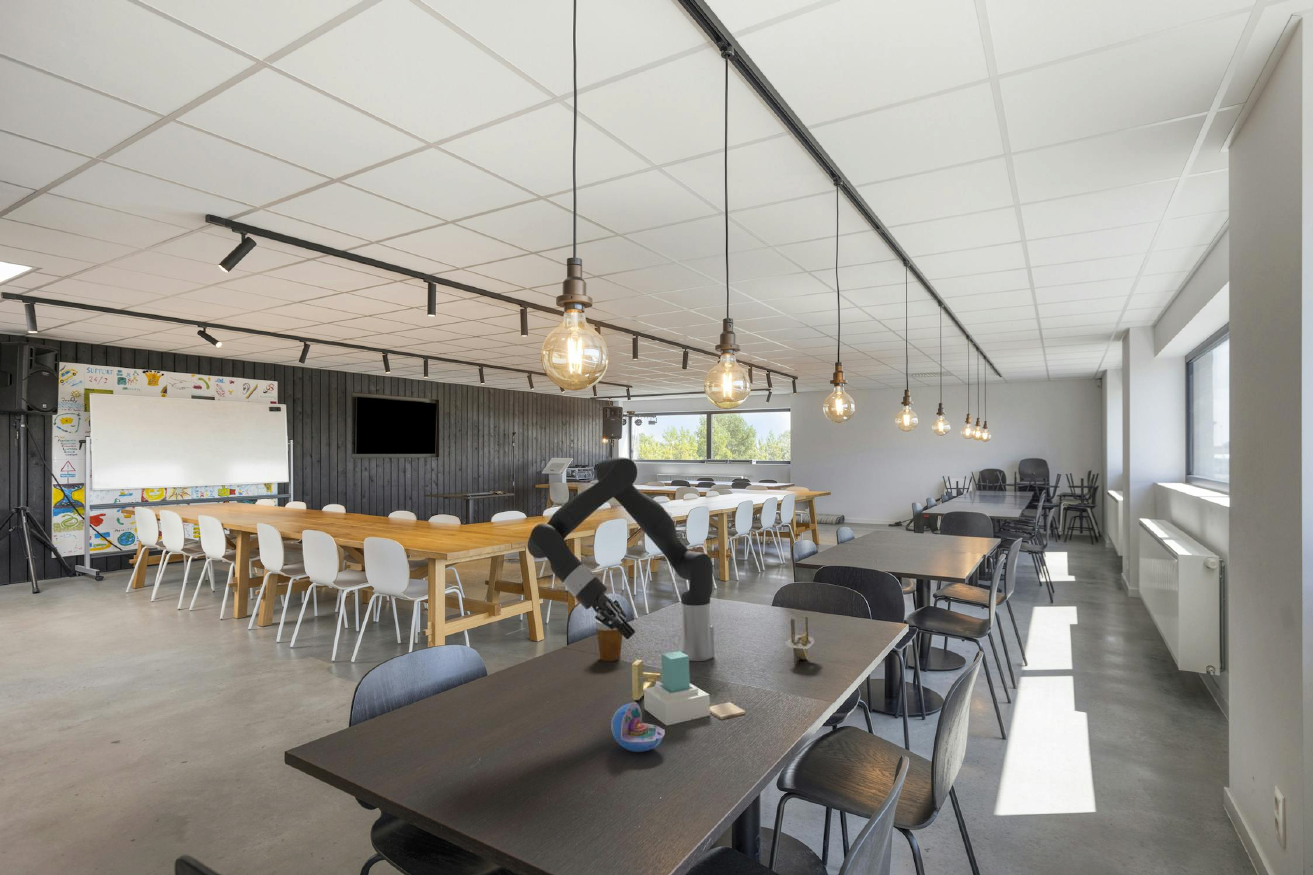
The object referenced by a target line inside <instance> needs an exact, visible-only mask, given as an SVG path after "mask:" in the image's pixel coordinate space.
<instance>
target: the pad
mask: <svg viewBox="0 0 1313 875" xmlns="http://www.w3.org/2000/svg"><path fill="white" fill-rule="evenodd" d="M710 714H712V715H713V716H715V717H717V718H718V719H719V720H725V719H728V718H733V717H734V718H735V717H737V716H738V717H739V716H742V715H745V714H746V710H744V709H742V708H741V707H738V706H737V705H735V704H733V703H732V702H730V701H728V702H724V703H719V704H715V705H711V706H710Z"/></svg>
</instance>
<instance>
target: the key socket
mask: <svg viewBox="0 0 1313 875" xmlns="http://www.w3.org/2000/svg"><path fill="white" fill-rule="evenodd" d="M646 682H647V681H643V685H644V684H645V683H646ZM657 684H662V682H661V681H657V680H656V684H655V685H657ZM655 685H652V686H651V687H655Z"/></svg>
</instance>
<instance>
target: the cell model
mask: <svg viewBox="0 0 1313 875" xmlns="http://www.w3.org/2000/svg"><path fill="white" fill-rule="evenodd" d="M642 718H643V714H642V709H641V707H640V705H639V703H637V702H635V701H633V702H629V703H626V704H624V705H622V706H621V707H619V708H618V709H617V710H616V711H615V713H614V714H613V716H612V718H611V723H610V724H611V725H610V727H611V733H612V735H613V737H614V739H615V741H616V743H618V745H619V746H621V747H622V748H624V749H625V750H627V751H630V752H635V753H642V752H643V753H644V752H647V751H650V750H652V749H654V748H655V747H657V746H658V745H660V743H661V742H662V741H663V739H664V736H665V731H666V730H665V729H663V728H661V727H660V726H658V725H655V724H652V723H651V724H650V723H646V722H643V721H642Z"/></svg>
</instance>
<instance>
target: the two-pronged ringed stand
mask: <svg viewBox="0 0 1313 875" xmlns="http://www.w3.org/2000/svg"><path fill="white" fill-rule="evenodd" d="M795 620H796V619H795V618H790V631H791V632H790V635H791V637H790V638H789V639H788V640H787V641H785V646H787V648H791V649H793V666H794V667H795V666H796V665H797V664H798V662H799V660H807V661H808V660H809V658H808V649H810V647H811V646H812V645H814V644H815V639H814V638H813V637H812V636H810V635H809V616H805V633H804V634H801V635H800V634H796V622H795ZM800 640H801V641H800ZM800 642H801V643H800Z"/></svg>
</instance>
